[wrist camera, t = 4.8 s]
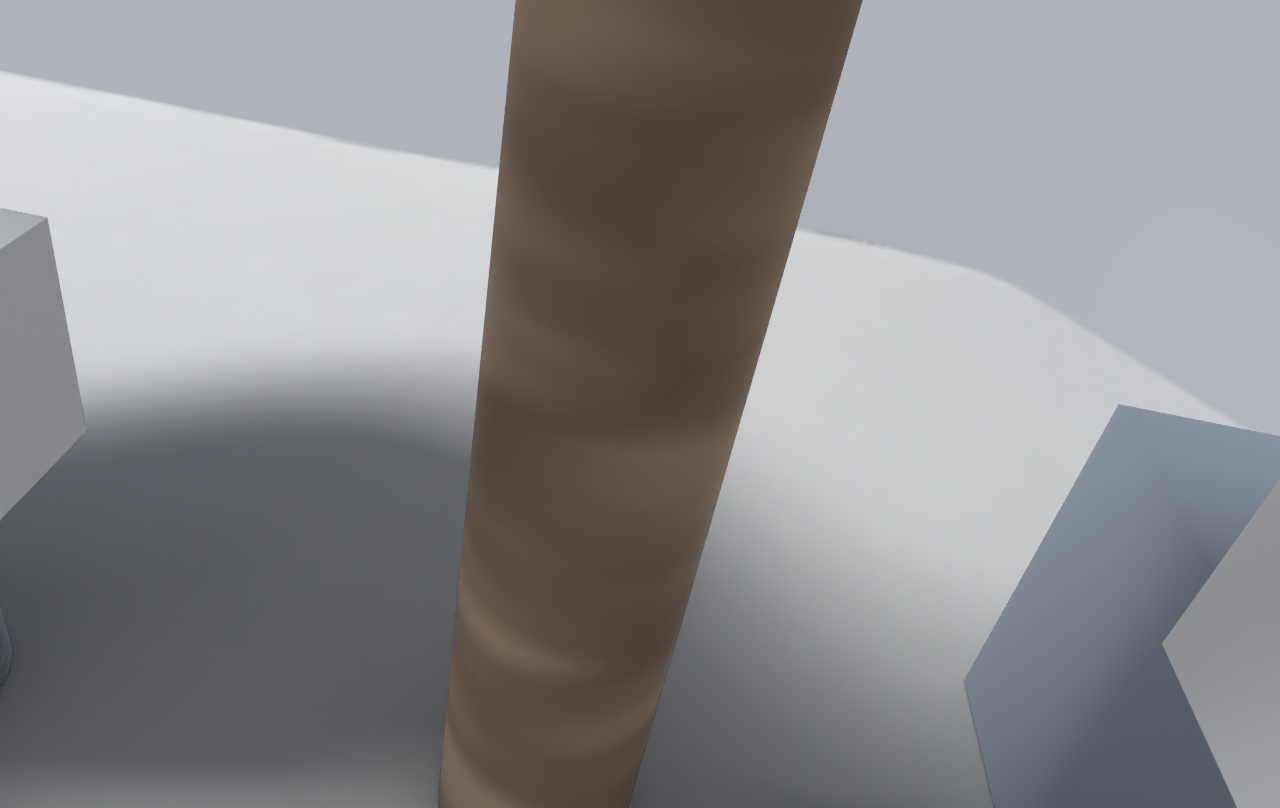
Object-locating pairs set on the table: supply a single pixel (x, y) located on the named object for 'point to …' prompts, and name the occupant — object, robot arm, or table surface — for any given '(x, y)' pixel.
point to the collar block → (1117, 622)
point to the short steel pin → (4, 650)
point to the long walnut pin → (618, 364)
